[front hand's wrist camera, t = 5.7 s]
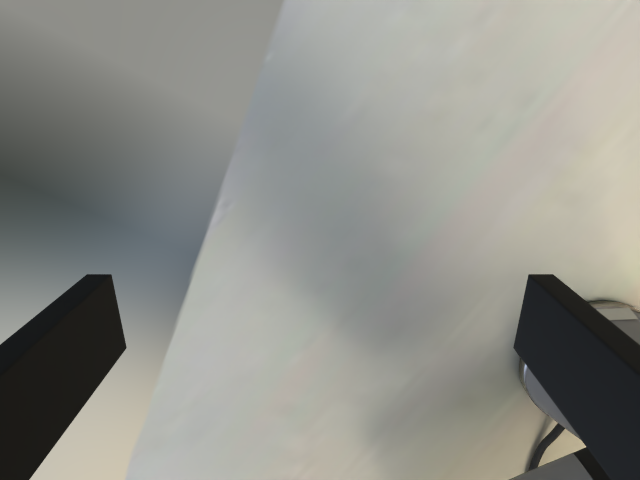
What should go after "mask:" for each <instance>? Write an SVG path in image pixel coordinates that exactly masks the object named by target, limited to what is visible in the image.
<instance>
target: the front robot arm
mask: <svg viewBox="0 0 640 480" xmlns="http://www.w3.org/2000/svg"><path fill="white" fill-rule="evenodd" d="M125 349H126V343H125V338H124V334H123V329H122V324H121V319H120V314H119V309H118V304H117V300H116V295H115V290H114V285H113V280H112V275H108V274H107V275H105V274H104V275H103V274H102V275H101V274H91V275H90V274H87V275H86V276H85V277H83V278H82V279H81V280H80V281H78V282H77V283H76V284H75V285H73V286H72V287H71V288H70V289H68V290H67V291H66V292H65V293H64V294H62V295H61V296H60V297H59V298H57V299H56V300H55V301H54V302H52V303H51V304H50V305H49V306H48V307H46V308H45V309H44V310H43V311H41V312H40V313H39V314H38V315H36V316H35V317H34V318H33V319H31V320H30V321H29V322H28V323H27V324H25V325H24V326H23V327H22V328H20V329H19V330H18V331H17V332H16V333H14V334H13V335H12V336H11V337H9V338H8V339H7V340H6V341H4V342H3V343H2V344H1V345H0V480H29V479H30V478H31V477H32V475H33V474H34V472H35V471H36V470H37V468H38V467H39V466H40V464H41V463H42V462H43V460H44V459H45V458H46V456H47V455H48V454H49V452H50V451H51V449H52V448H53V447H54V445H55V444H56V443H57V441H58V440H59V439H60V437H61V436H62V435H63V433H64V432H65V430H66V429H67V428H68V426H69V425H70V424H71V422H72V421H73V420H74V418H75V417H76V416H77V414H78V413H79V412H80V410H81V409H82V407H83V406H84V405H85V403H86V402H87V401H88V399H89V398H90V397H91V395H92V394H93V393H94V391H95V390H96V388H97V387H98V386H99V384H100V383H101V382H102V380H103V379H104V378H105V376H106V375H107V374H108V372H109V371H110V370H111V368H112V367H113V365H114V364H115V363H116V361H117V360H118V359H119V357H120V356H121V355H122V353H123V352H124V351H125ZM514 349H515V351H516V352H517V353H518V355H519V356H520V357H521V358H520V364H519V374H520V379H521V383H522V385H523V387H524V389H525V391H526V392H527V394H528V395H529V397H530V398H531V400H532V401H533V402H534V403H535V405H536V406H537V407H538V408H540V409H541V410H542V411H543V412H544V413H545V414H547V415H548V416H550V417H551V418H553V419H554V420H555V421H556V422H558V424H557V425H556V426H555V427H554V429H553V430H552V431H551V432H550V433H549V434H548V435H547V436H546V437H545V438H544V439H543V440H542V441H541V443H540V444H539V445H538V447H537V449H536V451H535V453H534V456H533V458H532V461H531V465H530V468H529V471H528V472H526V473H524V474H521V475H519V476H516V477H514V478H512V479H509V480H640V311H639V310H637V309H635V308H633V307H631V306H629V305H626V304H623V303H619V302H613V301H594V302H586V301H585V300H584V299H583V298H581V297H580V296H579V295H578V294H576V293H575V292H574V291H573V290H572V289H570V288H569V287H568V286H567V285H565V284H564V283H563V282H562V281H560V280H559V279H558V278H557V277H555V276H554V275H553V274H529V275H528V280H527V285H526V290H525V295H524V300H523V304H522V309H521V314H520V319H519V324H518V329H517V334H516V338H515V343H514ZM565 428H566V429H567V430H568V431H570V432H571V433H572V434H574V435H575V436H576V437H578V438H579V439H581V440H582V441H583V443H584V444H585V445H586V448H583V449H581V450H579V451H576V452H574V453H571V454H569V455H566V456H564V457H562V458H559V459H557V460H554V461H552V462H550V463H547V464H545V465H543V466H540V467H538V464H539V462H540V459H541V457H542V455H543V453H544V451H545V450H546V448H547V447H548V446H549V445H550V444H551V443H552V442H553V441H554V440H555V439H556V438H557V437H558V436H559V435H560V434H561V433H562V431H563V430H564V429H565ZM537 467H538V468H537Z"/></svg>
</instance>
